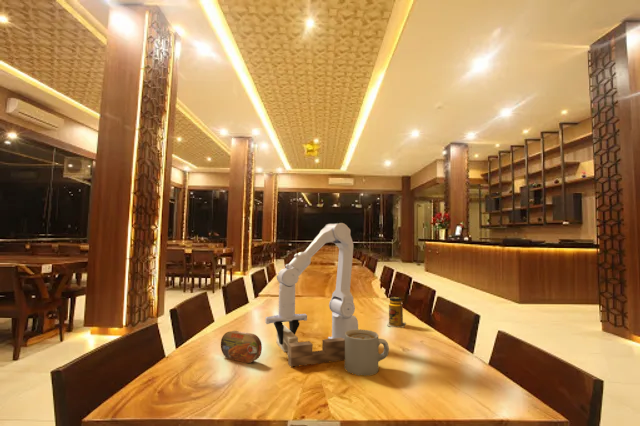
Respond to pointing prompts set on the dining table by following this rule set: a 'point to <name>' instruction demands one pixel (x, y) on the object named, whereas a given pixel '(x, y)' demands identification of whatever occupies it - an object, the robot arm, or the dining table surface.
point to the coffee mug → (363, 352)
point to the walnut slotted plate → (316, 352)
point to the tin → (241, 346)
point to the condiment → (396, 312)
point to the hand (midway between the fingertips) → (286, 343)
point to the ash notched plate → (287, 339)
